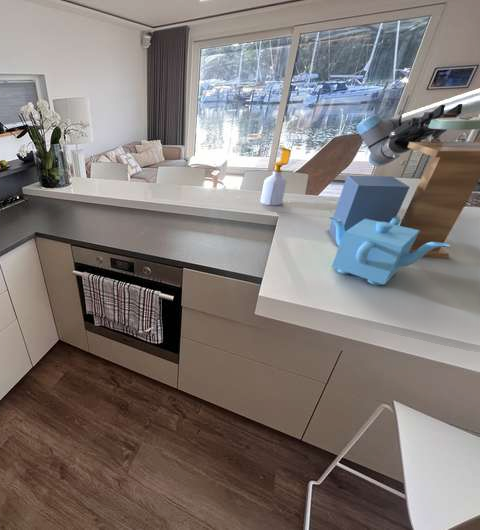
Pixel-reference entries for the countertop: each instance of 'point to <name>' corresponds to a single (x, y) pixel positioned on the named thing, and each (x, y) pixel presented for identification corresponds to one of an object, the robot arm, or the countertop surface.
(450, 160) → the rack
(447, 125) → the clock
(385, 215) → the slate blue block
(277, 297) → the countertop surface
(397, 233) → the teakettle
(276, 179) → the soap bottle
